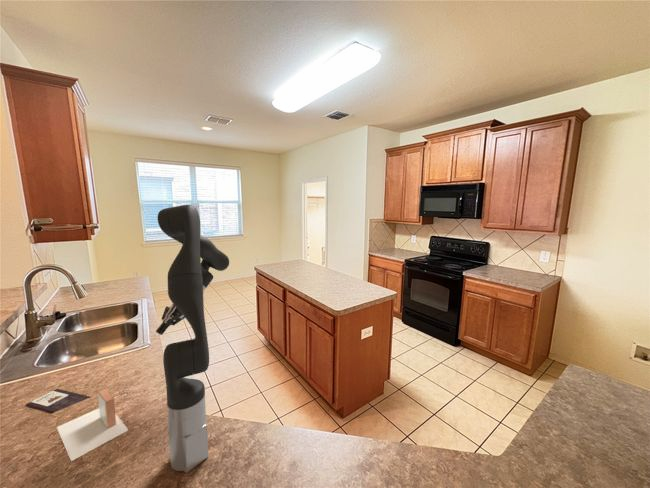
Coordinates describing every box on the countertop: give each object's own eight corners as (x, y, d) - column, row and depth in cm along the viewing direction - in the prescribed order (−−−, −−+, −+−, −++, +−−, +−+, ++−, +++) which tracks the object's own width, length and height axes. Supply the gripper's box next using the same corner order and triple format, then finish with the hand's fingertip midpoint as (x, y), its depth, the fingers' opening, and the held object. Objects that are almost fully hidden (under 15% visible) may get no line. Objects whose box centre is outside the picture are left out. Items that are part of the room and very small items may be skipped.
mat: (128, 432, 81) (128, 430, 81) (71, 463, 70) (71, 461, 70) (108, 406, 93) (108, 404, 92) (56, 429, 82) (56, 427, 82)
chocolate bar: (60, 413, 88) (25, 404, 93) (60, 416, 88) (25, 406, 93) (90, 396, 97) (57, 388, 102) (90, 398, 97) (57, 391, 102)
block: (116, 424, 83) (114, 397, 82) (107, 428, 81) (105, 401, 81) (108, 413, 88) (106, 388, 87) (99, 417, 86) (97, 392, 85)
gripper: (175, 285, 104) (142, 324, 95) (192, 290, 97) (157, 333, 88) (189, 295, 109) (159, 333, 100) (206, 300, 101) (175, 342, 92)
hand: (158, 333), depth 94 cm, fingers closed
